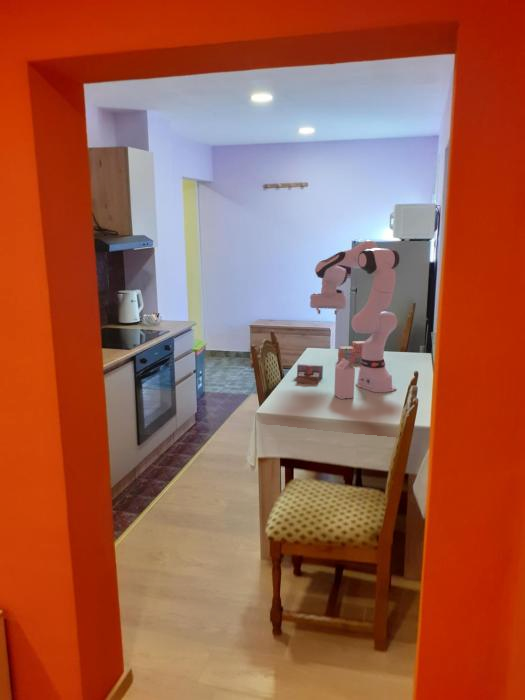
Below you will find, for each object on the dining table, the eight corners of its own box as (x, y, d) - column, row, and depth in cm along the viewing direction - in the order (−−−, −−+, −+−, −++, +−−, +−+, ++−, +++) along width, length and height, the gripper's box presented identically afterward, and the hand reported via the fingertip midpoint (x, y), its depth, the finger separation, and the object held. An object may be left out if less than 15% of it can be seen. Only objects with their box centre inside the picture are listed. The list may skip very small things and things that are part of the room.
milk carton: (346, 394, 288) (348, 357, 284) (353, 398, 282) (355, 360, 278) (334, 395, 286) (335, 358, 282) (341, 399, 279) (342, 361, 275)
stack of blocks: (341, 363, 351) (342, 344, 348) (337, 361, 357) (338, 341, 354) (373, 361, 356) (374, 342, 353) (369, 359, 362) (370, 340, 359)
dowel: (313, 380, 311) (313, 366, 309) (307, 381, 310) (308, 367, 308) (310, 379, 314) (310, 365, 312) (305, 379, 312) (305, 365, 311)
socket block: (299, 378, 318) (299, 370, 317) (319, 379, 316) (319, 371, 315) (297, 384, 307) (297, 375, 306) (318, 385, 306) (318, 376, 305)
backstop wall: (297, 376, 321) (297, 364, 319) (322, 377, 319) (322, 365, 317) (297, 377, 319) (297, 365, 317) (322, 378, 317) (322, 366, 315)
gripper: (310, 290, 327) (308, 309, 320) (346, 291, 324) (345, 310, 317) (310, 296, 333) (309, 316, 325) (346, 297, 330) (345, 317, 322)
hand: (327, 313), depth 321 cm, fingers open, 8 cm apart
